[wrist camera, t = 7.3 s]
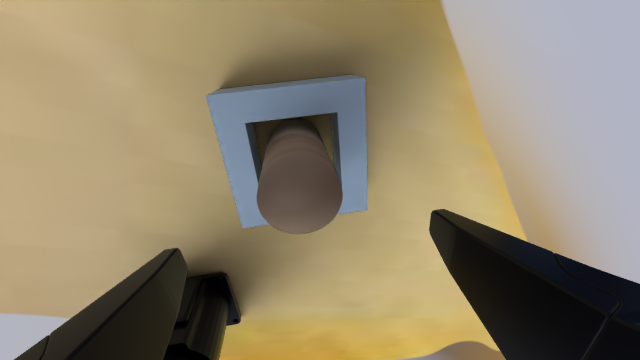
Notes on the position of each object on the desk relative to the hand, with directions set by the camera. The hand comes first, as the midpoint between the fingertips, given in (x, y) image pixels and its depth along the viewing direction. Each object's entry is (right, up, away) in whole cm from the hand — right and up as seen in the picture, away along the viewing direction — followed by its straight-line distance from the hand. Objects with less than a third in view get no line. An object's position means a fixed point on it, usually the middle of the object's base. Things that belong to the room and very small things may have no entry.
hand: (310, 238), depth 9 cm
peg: (-2, +5, +10) cm, 11 cm away
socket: (-1, +5, +10) cm, 11 cm away
